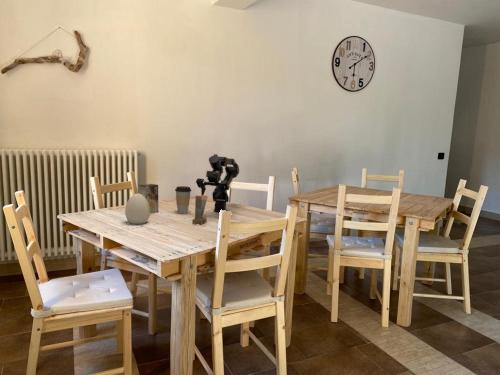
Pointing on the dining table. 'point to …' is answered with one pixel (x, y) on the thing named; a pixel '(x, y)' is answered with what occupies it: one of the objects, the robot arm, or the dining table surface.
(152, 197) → the coffee box
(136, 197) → the decorative egg
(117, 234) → the dining table surface
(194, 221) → the stand
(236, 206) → the dining table surface
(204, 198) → the block
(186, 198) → the coffee cup
